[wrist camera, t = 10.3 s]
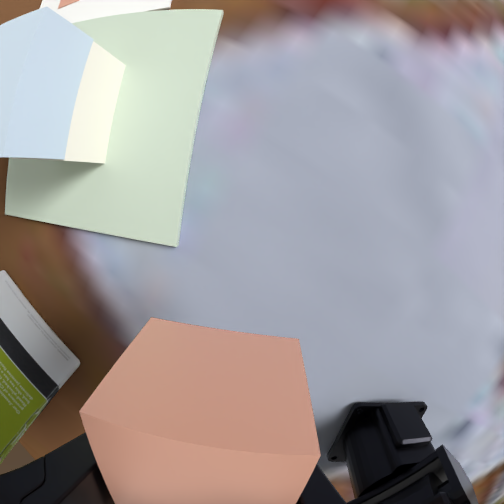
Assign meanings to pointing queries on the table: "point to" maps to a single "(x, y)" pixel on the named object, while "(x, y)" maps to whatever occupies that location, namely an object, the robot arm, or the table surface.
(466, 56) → the table surface
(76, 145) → the brick cream
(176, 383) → the brick rust
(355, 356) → the table surface
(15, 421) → the tea box
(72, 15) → the page
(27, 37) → the brick blue
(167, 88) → the baseplate
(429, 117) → the table surface
